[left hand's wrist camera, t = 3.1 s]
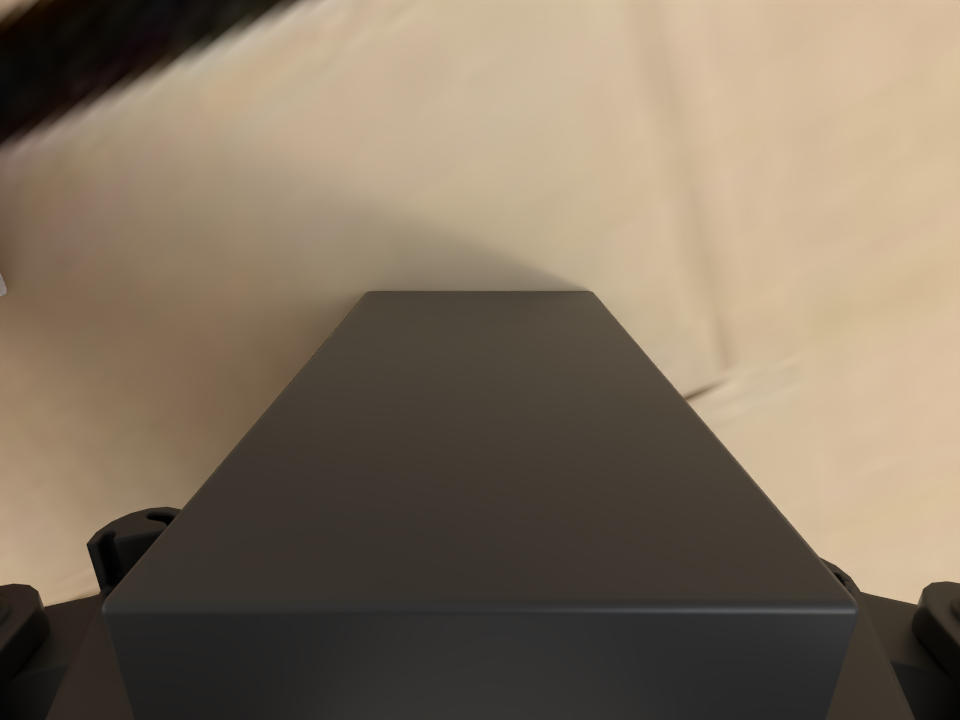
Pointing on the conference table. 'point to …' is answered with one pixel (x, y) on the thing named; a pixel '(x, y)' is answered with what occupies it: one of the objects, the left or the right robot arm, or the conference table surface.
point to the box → (480, 541)
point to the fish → (2, 286)
